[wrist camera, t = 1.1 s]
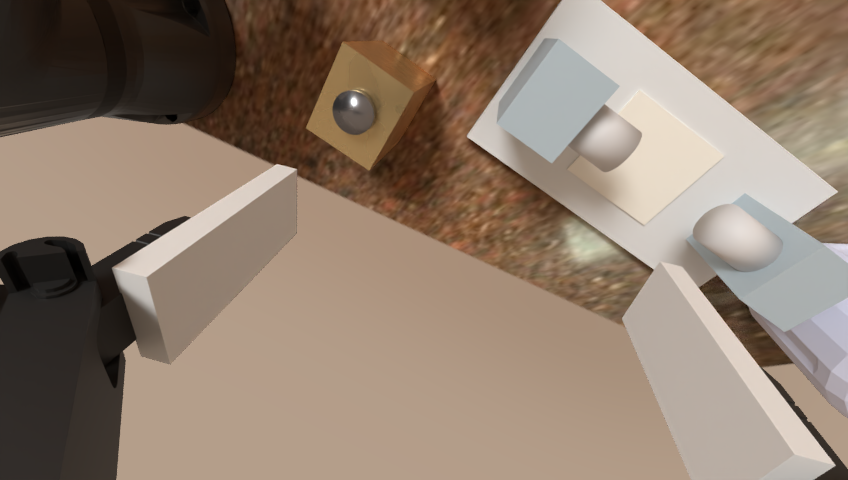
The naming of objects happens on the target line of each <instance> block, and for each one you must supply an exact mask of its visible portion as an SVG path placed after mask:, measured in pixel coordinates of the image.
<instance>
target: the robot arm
mask: <svg viewBox="0 0 848 480" xmlns="http://www.w3.org/2000/svg"><path fill="white" fill-rule="evenodd" d="M235 62H236V51H235V40H234V34H233V29H232V24H231V21H230V17H229V14H228V11H227V8H226V5H225V3H224V0H0V137H3V136H8V135H13V134H18V133H22V132H27V131H32V130H37V129H42V128H46V127H51V126H55V125H60V124H65V123H70V122H75V121H80V120H85V119H90V118H95V117H101V116H102V117H109V118H117V119H124V120H132V121H139V122H147V123H155V124H178V123H183V122H187V121H191V120H195V119H199V118H202V117H204V116H206V115H208V114H210V113H211V112H213V111H214V110H215V109H216V108H217V107H219V106H220V104H221V103H222V102H223V100H224V99H225V97H226V96H227V94H228V92H229V90H230V87H231V84H232V81H233V77H234V71H235ZM296 233H297V169H294V168H291V167H287V166H283V165H279V164H276V165H275V166H273V167H271V168H270V169H268V170H267V171H265V172H264V173H262V174H260V175H259V176H257V177H255V178H254V179H252V180H251V181H249V182H248V183H246V184H244V185H243V186H241V187H240V188H238V189H236V190H235V191H233V192H232V193H230V194H228V195H227V196H225V197H224V198H222V199H220V200H219V201H217V202H216V203H214V204H213V205H211V206H209V207H208V208H206V209H205V210H203V211H202V212H200V213H198V214H197V215H195V216H193V217H192V218H190V217H187V216H184V217H180V218H178V219H174V220H171V221H168V222H165V223H163V224H162V225H160V226H158V227H156V228H155V229H153V230H151V231H150V232H149V234H145V235H143V236H141V237H140V238H138V239H137V240H136V242H131V243H129V244H128V245H126V246H124V247H123V248H121V249H119V250H117V251H116V252H114V253H112V254H111V255H109V256H107V257H106V258H104V259H102V260H101V261H99V262H97V263H96V264H94V265H92V266H91V263H90V261H89V258H88V256H87V253H86V250H85V247H84V244H83V243H81V242H80V241H78V240H77V239H73V238H68V237H43V238H37V239H31V240H27V241H24V242H21V243H18V244H14V245H12V246H10V247H8V248H6V249H4V250H2V251H0V278H1V280H2V282H3V283H4V285H0V480H116V476H117V462H118V450H119V437H120V425H121V412H122V399H123V386H124V373H125V361H126V360H125V357H124V353H123V350H124V349H125V348H127V347H128V346H129V345H130V344H131V343H133V342H134V341H135V340H136V342H137V345H138V348H139V351H140V354H141V356H142V357H146V358H149V359H153V360H156V361H160V362H163V363H167V364H171V363H172V362H173V361H174V360H175V359H176V358H177V357H178V356H179V355H180V354H181V353H182V352H183V351H184V350H185V349H186V348H187V347H188V345H190V343H191V342H192V341H193V340H194V339H195V338H196V337H197V336H198V335H199V334H200V333H201V332H202V331H203V330H204V329H205V328H206V327H207V326H208V325H209V324H210V323H211V322H212V321H213V320H214V319H215V318H216V316H217V315H218V314H219V313H220V312H221V311H222V310H223V309H224V308H225V307H226V306H227V305H228V304H229V303H230V302H231V301H232V300H233V299H234V298H235V297H236V296H237V295H238V293H240V292H241V291H242V289H243V288H244V287H245V286H246V285H247V284H248V283H249V282H250V281H251V280H252V279H253V278H254V277H255V276H256V275H257V274H258V273H259V272H260V271H261V270H262V269H263V268H264V267H265V265H267V264H268V263H269V261H270V260H271V259H272V258H273V257H274V256H275V255H276V254H277V253H278V252H279V251H280V250H281V249H282V248H283V247H284V246H285V245H286V244H287V243H288V242H289V241H290V240H291V239H292V238H293V237H294V236H295V234H296ZM622 320H623V322H624V325H625V327H626V329H627V332H628V334H629V336H630V339H631V341H632V343H633V346H634V348H635V350H636V353H637V355H638V357H639V359H640V362H641V364H642V367H643V369H644V371H645V373H646V376H647V378H648V381H649V383H650V385H651V387H652V390H653V392H654V394H655V397H656V399H657V402H658V404H659V406H660V409H661V411H662V413H663V416H664V418H665V420H666V422H667V425H668V427H669V429H670V432H671V434H672V436H673V439H674V441H675V443H676V446H677V448H678V450H679V453H680V455H681V457H682V460H683V462H684V464H685V467H686V469H687V471H688V474H689V476H690V478H691V480H848V469H847V468H846V466H845V465H844V464H843V463H842V461H841V460H840V459H839V457H838V456H837V455H836V454H835V452H834V451H833V450H832V449H831V447H830V446H829V445H828V444H827V442H826V441H825V440H824V439H823V437H822V436H821V435H820V433H819V432H818V431H817V430H816V429H815V427H814V426H813V425H812V423H811V422H808V421H807V417H806V416H805V415H804V413H803V412H802V411H801V410H800V408H799V407H798V406H795V402H794V401H793V400H792V398H791V397H790V396H789V394H788V393H787V392H786V391H785V389H784V388H783V387H782V386H781V384H780V383H778V382H777V381H776V380H775V379H774V378H773V377H772V376H771V375H769V374H768V373H767V372H766V371H765V370H764V369H763V368H761V367H760V366H758V364H757V363H756V362H755V360H754V359H753V358H752V356H751V355H750V354H749V353H748V351H747V350H746V349H745V347H744V346H743V345H742V344H741V342H740V341H739V340H738V338H737V337H736V336H735V334H734V333H733V332H732V331H731V329H730V328H729V327H728V325H727V324H726V323H725V322H724V320H723V319H722V318H721V316H720V315H719V314H718V312H717V311H716V310H715V309H714V307H713V306H712V305H711V303H710V302H709V301H708V300H707V298H706V297H705V296H704V294H703V293H702V292H701V290H700V289H699V288H698V287H697V285H696V284H695V283H694V281H693V280H692V279H691V278H690V276H689V275H688V274H687V272H686V271H685V270H684V268H683V267H681V266H677V265H673V264H669V263H665V262H661V261H660V262H659V264H658V265H657V267H656V268H655V270H654V271H653V273H652V274H651V276H650V277H649V279H648V280H647V282H646V283H645V285H644V286H643V288H642V289H641V291H640V292H639V294H638V295H637V297H636V298H635V300H634V301H633V303H632V304H631V306H630V307H629V309H628V310H627V312H626V313H625V315H624V316H623V318H622Z"/></svg>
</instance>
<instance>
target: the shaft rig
mask: <svg viewBox="0 0 848 480" xmlns="http://www.w3.org/2000/svg"><path fill="white" fill-rule="evenodd" d="M467 137H468V138H469V139H471V140H472V141H474V142H475V143H476V144H478V145H479V146H481V147H482V148H483V149H485V150H486V151H488V152H489V153H490V154H492V155H493V156H495V157H496V158H498V159H499V160H500V161H502V162H503V163H505V164H506V165H507V166H509V167H510V168H512V169H513V170H514V171H516V172H517V173H519V174H520V175H521V176H523V177H524V178H526V179H527V180H529V181H530V182H531V183H533V184H534V185H536V186H537V187H538V188H540V189H541V190H543V191H544V192H545V193H547V194H548V195H550V196H551V197H552V198H554V199H555V200H557V201H558V202H559V203H561V204H562V205H564V206H565V207H567V208H568V209H569V210H571V211H572V212H574V213H575V214H576V215H578V216H579V217H581V218H582V219H583V220H585V221H586V222H588V223H589V224H590V225H592V226H593V227H595V228H596V229H598V230H599V231H600V232H602V233H603V234H605V235H606V236H607V237H609V238H610V239H612V240H613V241H614V242H616V243H617V244H619V245H620V246H621V247H623V248H624V249H626V250H627V251H628V252H630V253H631V254H633V255H634V256H636V257H637V258H638V259H640V260H641V261H643V262H644V263H645V264H647V265H648V266H650V267H651V268H652V269H654V270H655V268H656V267H657V265H658V264H659V262H660V261H661V262H665V263H669V264H673V265H677V266H681V267H683V268H684V270H685V271H686V272H687V274H688V275H689V276H690V278H691V279H692V280H693V281H694V283H695V284H696V285H697V287H698V288H699V287H700V286H702V285H703V284H705V283H706V282H707V281H709V280H710V279H712V278H713V277H715V276H716V275H718V276H719V277H720V278H721V279H722V280H723V281H724V283H725V284H726V285H727V286H728V287H729V288H730V289H731V290H732V292H733V293H734V294H735V295H736V296H737V297H738V298H739V299H740V300H741V301H742V302H744V303H745V304H747V305H748V306H749V307H751V308H752V309H753V310H755V311H756V312H758V313H759V314H760V315H762V316H763V317H764V318H766V319H767V320H769V321H770V322H771V323H773V324H774V325H776V326H777V327H778V328H780V329H781V330H782V331H784V332H786V331H788V330H790V329H792V328H793V327H795V326H797V325H799V324H801V323H803V322H804V321H806V320H808V319H810V318H812V317H814V316H815V315H817V314H819V313H821V312H823V311H824V310H826V309H828V308H830V307H832V306H834V305H835V304H837V303H839V302H841V301H843V300H845V299H846V298H848V263H847V262H846V261H844V260H843V259H842V258H841V257H839V256H838V255H837V254H835V253H834V252H833V251H832V250H830V249H829V248H828V247H826V246H825V245H824V244H822V243H821V242H819V241H817V240H816V239H814V238H813V237H811V236H810V235H808V234H807V233H805V232H804V231H802V230H801V229H799V228H798V227H796V226H795V225H793V224H792V223H793V222H795V221H796V220H797V219H799V218H800V217H802V216H803V215H805V214H806V213H808V212H809V211H811V210H812V209H813V208H815V207H816V206H818V205H819V204H821V203H822V202H824V201H825V200H827V199H828V198H829V197H831V196H832V195H834V194H835V193H837V192H838V191H837V190H835V189H834V188H833V187H832V186H830V185H829V184H828V183H827V182H825V181H824V180H823V179H822V178H821V177H819V176H818V175H817V174H816V173H814V172H813V171H812V170H811V169H809V168H808V167H807V166H806V165H804V164H803V163H802V162H801V161H799V160H798V159H797V158H796V157H794V156H793V155H792V154H791V153H789V152H788V151H787V150H786V149H785V148H783V147H782V146H781V145H780V144H778V143H777V142H776V141H775V140H773V139H772V138H771V137H770V136H768V135H767V134H766V133H765V132H763V131H762V130H761V129H760V128H758V127H757V126H756V125H755V124H753V123H752V122H751V121H750V120H749V119H747V118H746V117H745V116H744V115H742V114H741V113H740V112H739V111H737V110H736V109H735V108H734V107H732V106H731V105H730V104H729V103H727V102H726V101H725V100H724V99H722V98H721V97H720V96H719V95H717V94H716V93H715V92H714V91H713V90H711V89H710V88H709V87H708V86H706V85H705V84H704V83H703V82H701V81H700V80H699V79H698V78H696V77H695V76H694V75H693V74H691V73H690V72H689V71H688V70H686V69H685V68H684V67H683V66H681V65H680V64H679V63H678V62H677V61H675V60H674V59H673V58H672V57H670V56H669V55H668V54H667V53H665V52H664V51H663V50H662V49H660V48H659V47H658V46H657V45H655V44H654V43H653V42H652V41H650V40H649V39H648V38H647V37H645V36H644V35H643V34H642V33H641V32H639V31H638V30H637V29H636V28H634V27H633V26H632V25H631V24H629V23H628V22H627V21H626V20H624V19H623V18H622V17H621V16H619V15H618V14H617V13H616V12H614V11H613V10H612V9H611V8H609V7H608V6H607V5H606V4H605V3H603V2H602V1H601V0H561V1H560V3H559V4H558V6H557V7H556V9H555V10H554V11H553V13H552V14H551V16H550V17H549V19H548V20H547V21H546V23H545V24H544V26H543V27H542V29H541V30H540V31H539V33H538V34H537V36H536V37H535V39H534V40H533V41H532V43H531V44H530V46H529V47H528V49H527V50H526V51H525V53H524V54H523V56H522V57H521V59H520V60H519V61H518V63H517V64H516V66H515V67H514V69H513V70H512V71H511V73H510V74H509V76H508V77H507V79H506V80H505V81H504V83H503V84H502V86H501V87H500V89H499V90H498V91H497V93H496V94H495V96H494V97H493V99H492V100H491V101H490V103H489V104H488V106H487V107H486V109H485V110H484V111H483V113H482V114H481V116H480V117H479V119H478V120H477V121H476V123H475V124H474V126H473V127H472V129H471V130H470V131H469V133H468V135H467Z"/></svg>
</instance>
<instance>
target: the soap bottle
mask: <svg viewBox="0 0 848 480" xmlns="http://www.w3.org/2000/svg"><path fill="white" fill-rule="evenodd" d="M822 244H824V245H825V246H826V247H828V248H829V249H830V250H832V251H833V252H834V253H835V254H837V255H838V256H839V257H841V258H842V259H843V260H844V261H846V262H847V263H848V244H835V243H822ZM748 307H749V306H748ZM749 310H750V312H751V315H752V316H753V317H754V318H755V320H756V321H757V322H758V323H759V324H760V325H761V326H762V328H763V329H764V330H765V331H766V332H767V333H768V334H769V335H770V337H771V338H772V339H773V340H774V341H775V342H776V343H777V345H778V346H779V347H780V348H781V349H782V350H783V351H784V352H785V354H786V355H787V356H788V357H789V358H790V359H791V360H792V362H793V363H794V364H795V365H796V366H797V367H798V368H799V369H800V371H801V372H802V373H803V374H804V375H805V376H806V377H807V379H808V380H810V382H811V383H812V384H813V385H814V386H815V388H816V389H817V390H818V391H819V392H820V393H821V394H822V396H824V398H825V399H826V400H827V401H828V402H829V403H830V404H831V405H832V406H833V407H834V408H835V409H837V410H838V411H839V412H840V413H841V414H842V415H844V416H845V417H847V418H848V298H846V299H845V300H843V301H841V302H839V303H837V304H835V305H834V306H832V307H830V308H828V309H826V310H824V311H823V312H821V313H819V314H817V315H815V316H814V317H812V318H810V319H808V320H806V321H804V322H803V323H801V324H799V325H797V326H795V327H793V328H792V329H790V330H788V331H786V332H784V331H782V330H781V329H780V328H778V327H777V326H776V325H774V324H773V323H771V322H770V321H769V320H767V319H766V318H764V317H763V316H762V315H760V314H759V313H758V312H756V311H755V310H753V309H752V308H751V307H749Z"/></svg>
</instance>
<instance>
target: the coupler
mask: <svg viewBox="0 0 848 480" xmlns="http://www.w3.org/2000/svg"><path fill="white" fill-rule="evenodd" d="M435 80H436V79H435V78H434V77H432V76H431V75H430V74H428V73H427V72H425V71H424V70H423V69H421V68H420V67H418V66H417V65H416V64H414V63H413V62H412V61H410V60H409V59H407V58H406V57H405V56H403V55H402V54H401V53H399V52H398V51H396V50H395V49H394V48H392V47H391V46H389V45H388V44H387V43H385V42H384V41H345V42H342V44H341V47H340V49H339V51H338V54H337V56H336V58H335V61H334V63H333V65H332V68H331V70H330V73H329V75H328V77H327V80H326V82H325V84H324V87H323V89H322V91H321V94H320V96H319V98H318V101H317V103H316V105H315V108H314V110H313V112H312V115H311V117H310V119H309V122H308V124H307V126H306V129H308V130H309V131H311V132H312V133H314V134H315V135H317V136H318V137H320V138H321V139H323V140H324V141H326V142H327V143H329V144H330V145H332V146H333V147H335V148H336V149H338V150H339V151H340V152H342V153H343V154H345V155H346V156H348V157H349V158H351V159H352V160H354V161H355V162H357V163H358V164H360V165H361V166H363V167H364V168H366V169H367V170H369V171H370V170H371V169H372V168H373V167H374V166H375V165H376V164H377V163H378V162H379V161H380V160H381V159H382V158H383V157H384V156H385V155H386V154H387V153H388V152H389V151H390V150H391V149H392V148H393V147H394V146H395V145H396V144H397V143H398V142H399V141H400V139H401V138H402V136H403V134H404V133H405V131H406V129H407V128H408V126H409V124H410V123H411V121H412V119H413V118H414V116H415V114H416V112H417V111H418V109H419V107H420V106H421V104H422V102H423V101H424V99H425V97H426V96H427V94H428V92H429V91H430V89H431V87H432V85H433V84H434V82H435Z"/></svg>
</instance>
